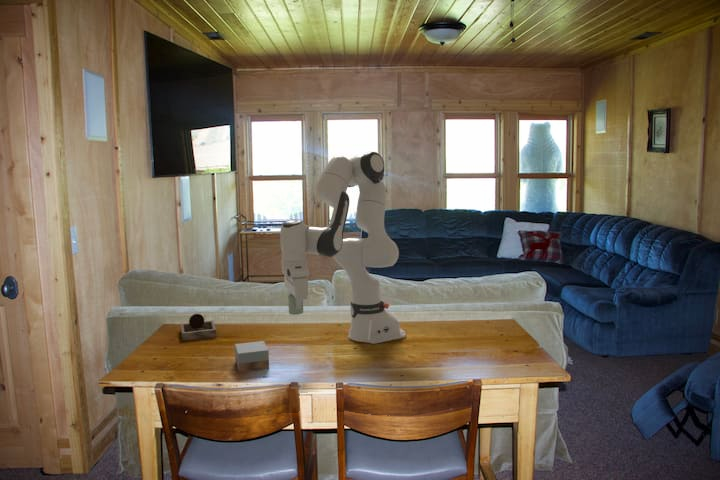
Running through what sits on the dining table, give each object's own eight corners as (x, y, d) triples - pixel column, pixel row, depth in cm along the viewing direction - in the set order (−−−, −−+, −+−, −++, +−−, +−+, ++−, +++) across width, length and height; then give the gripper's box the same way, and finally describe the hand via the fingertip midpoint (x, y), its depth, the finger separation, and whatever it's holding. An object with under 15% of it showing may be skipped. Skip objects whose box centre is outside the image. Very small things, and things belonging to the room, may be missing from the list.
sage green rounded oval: (301, 309, 204) (300, 293, 203) (304, 313, 199) (304, 296, 198) (287, 311, 202) (286, 294, 201) (290, 315, 198) (289, 298, 197)
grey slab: (264, 350, 204) (263, 340, 203) (268, 360, 194) (268, 350, 194) (235, 353, 201) (234, 344, 200) (238, 363, 191) (238, 353, 191)
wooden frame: (213, 327, 241) (213, 320, 240) (216, 336, 229) (216, 329, 228) (181, 331, 237) (180, 324, 236) (182, 340, 224) (181, 333, 224)
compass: (194, 336, 229) (193, 319, 228) (189, 331, 236) (188, 314, 235) (214, 333, 233) (213, 315, 232) (208, 328, 240) (207, 311, 239)
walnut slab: (264, 359, 204) (263, 350, 204) (269, 369, 195) (268, 359, 195) (235, 363, 201) (235, 353, 201) (239, 373, 192) (238, 363, 191)
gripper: (279, 262, 207) (281, 299, 209) (291, 274, 188) (293, 315, 190) (296, 260, 209) (298, 297, 211) (310, 272, 190) (312, 312, 192)
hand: (296, 305), depth 200 cm, fingers closed on sage green rounded oval, 5 cm apart
